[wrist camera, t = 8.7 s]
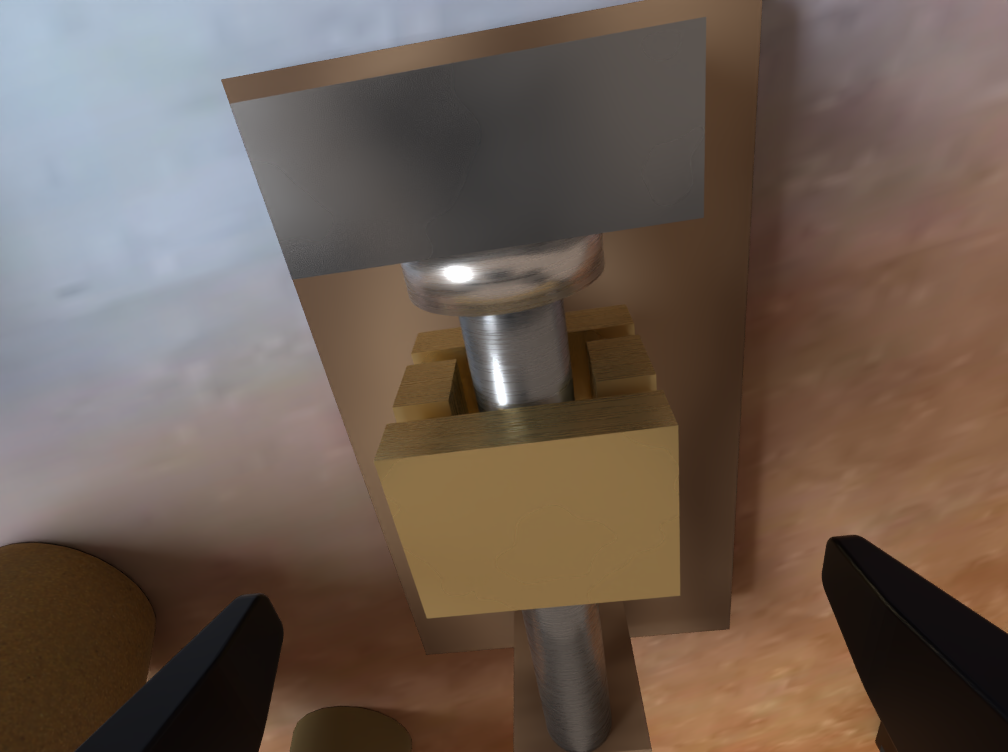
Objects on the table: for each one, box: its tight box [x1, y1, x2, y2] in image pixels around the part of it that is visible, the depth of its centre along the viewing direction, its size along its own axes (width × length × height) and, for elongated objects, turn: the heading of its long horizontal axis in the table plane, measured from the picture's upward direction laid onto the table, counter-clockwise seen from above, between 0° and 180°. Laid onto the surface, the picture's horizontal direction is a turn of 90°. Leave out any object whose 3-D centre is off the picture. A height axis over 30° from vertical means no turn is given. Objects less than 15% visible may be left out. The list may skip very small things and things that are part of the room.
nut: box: [374, 304, 680, 618], centre depth 12 cm, size 5×4×5 cm
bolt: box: [230, 17, 706, 752], centre depth 14 cm, size 6×19×6 cm, turn 9°
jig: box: [221, 0, 762, 752], centre depth 16 cm, size 12×21×7 cm, turn 9°
